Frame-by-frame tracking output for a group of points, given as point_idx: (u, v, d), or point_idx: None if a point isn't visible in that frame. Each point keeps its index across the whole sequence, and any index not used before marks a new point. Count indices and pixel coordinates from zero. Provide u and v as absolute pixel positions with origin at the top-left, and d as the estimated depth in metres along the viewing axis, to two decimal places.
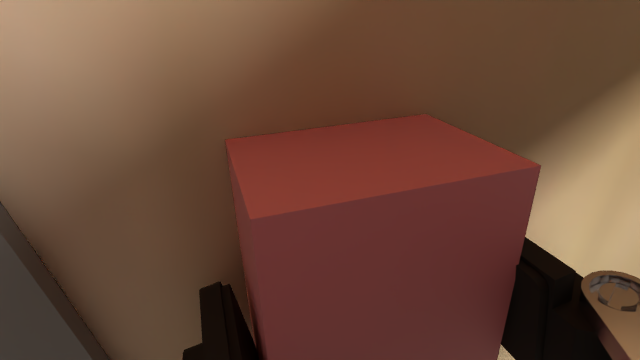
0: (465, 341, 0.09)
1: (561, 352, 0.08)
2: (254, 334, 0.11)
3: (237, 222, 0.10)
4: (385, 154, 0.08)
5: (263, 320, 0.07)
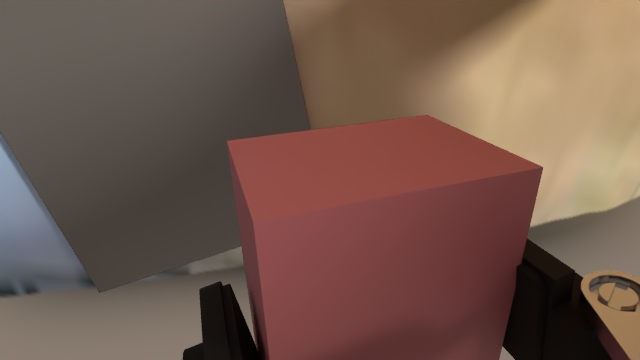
0: (467, 343, 0.09)
1: (561, 352, 0.08)
2: (256, 335, 0.11)
3: (239, 223, 0.10)
4: (387, 156, 0.08)
5: (266, 322, 0.07)
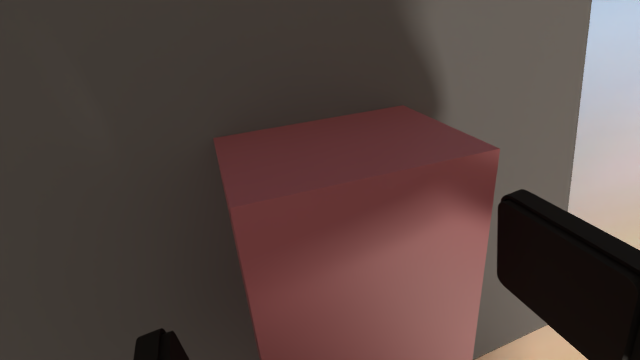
0: (443, 316, 0.09)
1: None
2: (251, 319, 0.12)
3: (229, 214, 0.11)
4: (359, 145, 0.09)
5: (249, 299, 0.07)
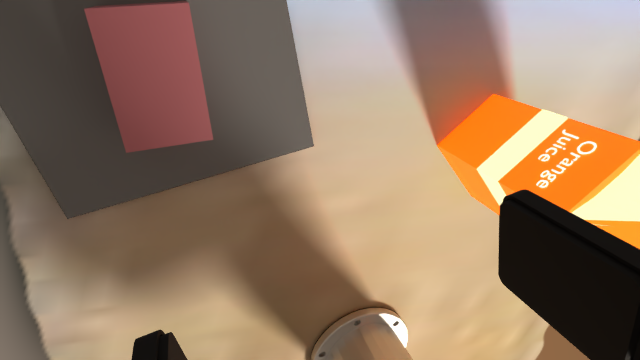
0: (184, 77, 0.24)
1: None
2: None
3: None
4: (145, 4, 0.23)
5: None
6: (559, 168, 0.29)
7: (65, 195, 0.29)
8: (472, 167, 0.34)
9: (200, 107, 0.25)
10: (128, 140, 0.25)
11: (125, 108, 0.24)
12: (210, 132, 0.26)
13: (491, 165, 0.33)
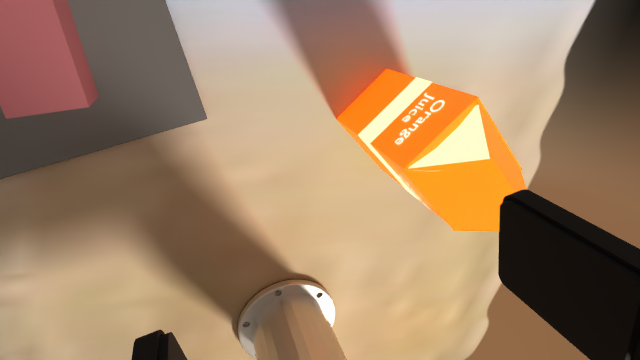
0: (52, 49, 0.27)
1: None
2: None
3: None
4: None
5: None
6: (414, 126, 0.31)
7: None
8: (356, 134, 0.37)
9: (71, 77, 0.28)
10: (6, 107, 0.28)
11: None
12: (85, 100, 0.29)
13: (368, 131, 0.35)
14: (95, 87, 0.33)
